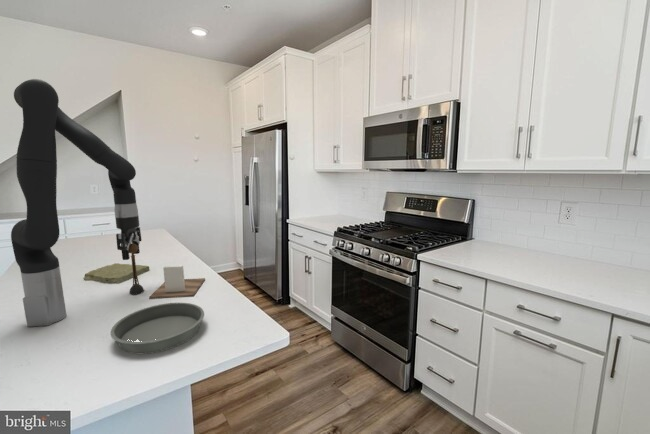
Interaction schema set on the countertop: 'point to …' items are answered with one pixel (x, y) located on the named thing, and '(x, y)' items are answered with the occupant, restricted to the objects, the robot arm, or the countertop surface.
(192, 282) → the walnut board
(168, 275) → the glazed tile
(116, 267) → the olive green flat slab
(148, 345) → the cake pan
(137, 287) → the wooden tabletop sculpture
